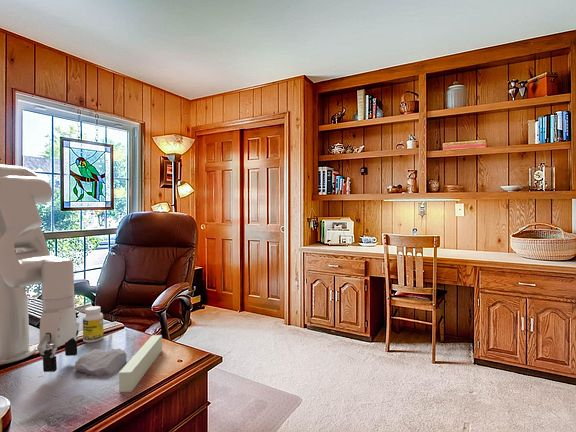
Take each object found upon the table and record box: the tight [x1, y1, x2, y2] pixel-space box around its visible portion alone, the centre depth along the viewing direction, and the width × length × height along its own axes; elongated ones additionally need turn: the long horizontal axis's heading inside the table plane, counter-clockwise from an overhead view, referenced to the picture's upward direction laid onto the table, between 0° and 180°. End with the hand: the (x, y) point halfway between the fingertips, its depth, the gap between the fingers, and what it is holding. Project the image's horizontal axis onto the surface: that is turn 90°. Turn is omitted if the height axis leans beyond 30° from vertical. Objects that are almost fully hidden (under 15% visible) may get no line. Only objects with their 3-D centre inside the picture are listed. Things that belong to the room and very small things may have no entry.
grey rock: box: [74, 348, 128, 377], centre depth 100 cm, size 12×5×10 cm
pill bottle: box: [82, 305, 104, 343], centre depth 119 cm, size 6×6×11 cm
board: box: [118, 334, 163, 393], centre depth 99 cm, size 3×24×5 cm, turn 2°
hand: (61, 362), depth 98 cm, fingers open, 9 cm apart
